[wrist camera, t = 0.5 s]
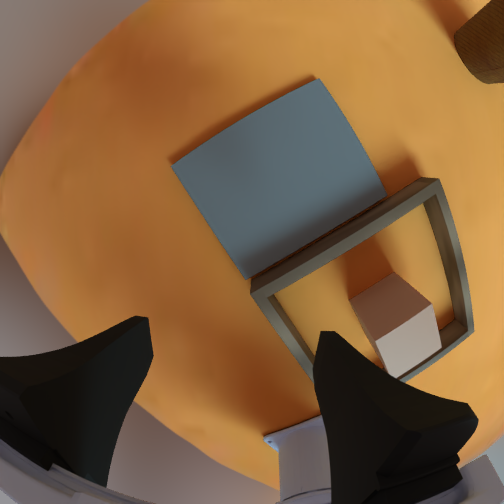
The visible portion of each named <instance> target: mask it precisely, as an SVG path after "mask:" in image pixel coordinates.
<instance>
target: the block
mask: <svg viewBox="0 0 504 504" xmlns="http://www.w3.org/2000/svg"><path fill="white" fill-rule="evenodd" d="M349 301H350V303H351V305H352V307H353V309H354V311H355V313H356V316H357V318H358V320H359V322H360V324H361V326H362V328H363V330H364V332H365V334H366V336H367V338H368V340H369V342H370V343H371V345H372V347H373V348H374V350H375V352H376V353H377V355H378V357H379V359H380V360H381V362H382V364H383V366H384V367H385V369H386V371H387V373H388V374H390V375H391V376H393V377H395V378H397V377H399V376H400V375H402V374H403V373H405V372H407V371H408V370H410V369H411V368H413V367H414V366H416V365H417V364H419V363H420V362H422V361H423V360H425V359H426V358H428V357H429V356H431V355H432V354H433V353H435V352H436V351H438V350H439V349H440V348H442V346H441V341H440V336H439V331H438V327H437V322H436V318H435V314H434V310H433V306H432V303H431V302H430V301H428V300H427V299H426V298H425V297H424V296H423V295H421V294H420V293H419V292H418V291H417V290H416V289H414V288H413V287H412V286H411V285H410V284H408V283H407V282H406V281H405V280H403V279H402V278H401V277H400V276H399V275H397V274H396V273H395V272H393V273H391V274H390V275H388V276H387V277H385V278H384V279H382V280H381V281H379V282H378V283H376V284H374V285H373V286H371V287H370V288H368V289H366V290H365V291H363V292H361V293H360V294H358V295H357V296H355V297H353V298H352V299H350V300H349Z"/></svg>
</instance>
